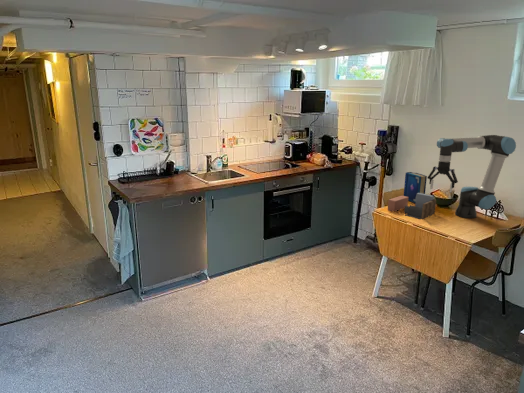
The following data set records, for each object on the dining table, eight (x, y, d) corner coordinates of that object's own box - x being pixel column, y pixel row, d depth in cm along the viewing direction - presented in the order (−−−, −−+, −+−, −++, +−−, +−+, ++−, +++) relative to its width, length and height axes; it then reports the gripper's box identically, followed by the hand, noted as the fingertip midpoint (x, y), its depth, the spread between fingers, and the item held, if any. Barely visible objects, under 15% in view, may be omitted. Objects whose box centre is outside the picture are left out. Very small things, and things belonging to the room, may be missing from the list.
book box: (387, 210, 323) (388, 199, 321) (400, 205, 336) (402, 195, 333) (394, 211, 319) (395, 201, 316) (407, 207, 331) (408, 197, 329)
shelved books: (418, 209, 324) (420, 192, 320) (432, 213, 316) (435, 195, 311) (414, 211, 320) (416, 193, 316) (429, 214, 312) (431, 196, 308)
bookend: (405, 212, 317) (405, 204, 315) (424, 217, 306) (425, 208, 304) (400, 214, 313) (401, 205, 311) (420, 219, 301) (421, 210, 299)
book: (401, 198, 357) (404, 171, 350) (408, 197, 359) (411, 170, 352) (417, 204, 337) (420, 176, 331) (424, 204, 339) (427, 175, 333)
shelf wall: (432, 213, 315) (434, 199, 312) (434, 213, 314) (436, 199, 311) (421, 218, 302) (423, 203, 299) (423, 219, 301) (424, 204, 298)
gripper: (424, 159, 281) (421, 188, 287) (461, 164, 264) (457, 194, 270) (429, 158, 286) (425, 186, 292) (465, 162, 269) (461, 192, 275)
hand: (440, 190), depth 281 cm, fingers open, 13 cm apart
